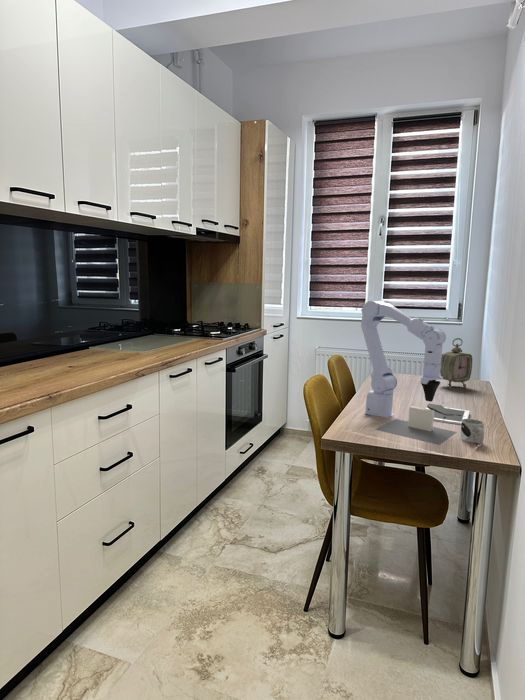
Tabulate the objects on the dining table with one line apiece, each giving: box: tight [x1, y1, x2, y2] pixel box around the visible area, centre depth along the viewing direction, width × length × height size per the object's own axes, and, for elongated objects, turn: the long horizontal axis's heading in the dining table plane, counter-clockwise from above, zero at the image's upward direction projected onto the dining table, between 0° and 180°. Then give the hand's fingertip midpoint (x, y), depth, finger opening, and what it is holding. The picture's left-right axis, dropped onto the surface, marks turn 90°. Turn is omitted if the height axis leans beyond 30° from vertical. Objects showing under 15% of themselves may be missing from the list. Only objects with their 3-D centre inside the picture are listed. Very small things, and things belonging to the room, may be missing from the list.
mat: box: [374, 418, 458, 446], centre depth 164 cm, size 22×18×1 cm
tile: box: [407, 405, 435, 431], centre depth 166 cm, size 8×2×7 cm, turn 51°
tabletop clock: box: [440, 337, 473, 389], centre depth 240 cm, size 14×9×25 cm, turn 118°
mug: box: [459, 418, 485, 445], centre depth 155 cm, size 10×7×7 cm
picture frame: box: [425, 402, 471, 426], centre depth 185 cm, size 16×3×21 cm
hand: (429, 400), depth 171 cm, fingers closed
